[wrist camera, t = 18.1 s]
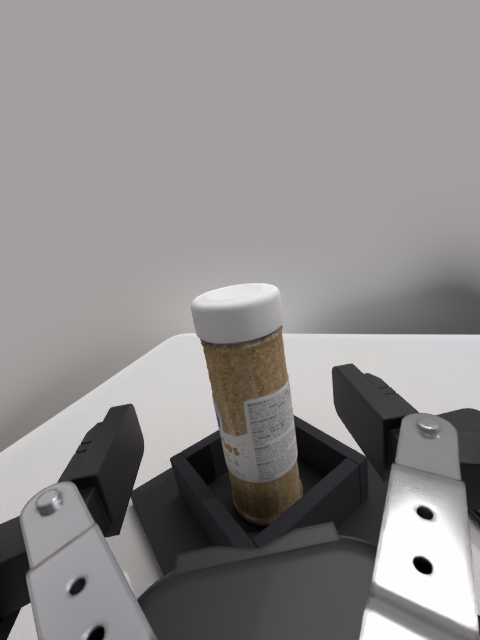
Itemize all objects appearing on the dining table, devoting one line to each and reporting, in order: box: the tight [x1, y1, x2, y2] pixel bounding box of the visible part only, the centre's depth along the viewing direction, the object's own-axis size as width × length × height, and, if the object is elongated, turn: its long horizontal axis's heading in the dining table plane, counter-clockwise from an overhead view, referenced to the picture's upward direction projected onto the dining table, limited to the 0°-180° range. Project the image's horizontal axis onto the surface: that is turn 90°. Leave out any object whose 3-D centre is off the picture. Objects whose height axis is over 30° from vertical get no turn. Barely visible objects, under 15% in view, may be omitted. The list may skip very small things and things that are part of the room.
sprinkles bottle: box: [191, 283, 303, 527], centre depth 17 cm, size 5×5×14 cm
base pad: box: [131, 415, 389, 575], centre depth 19 cm, size 14×14×4 cm
